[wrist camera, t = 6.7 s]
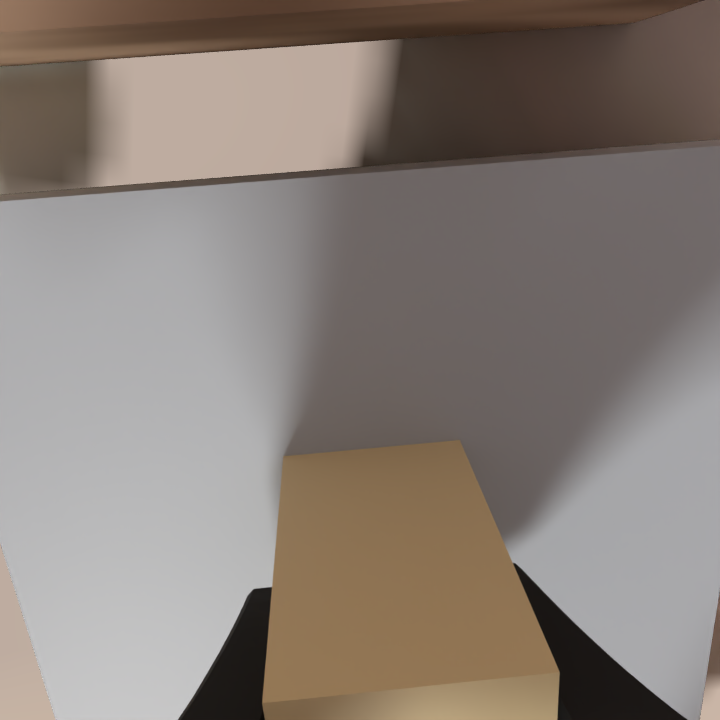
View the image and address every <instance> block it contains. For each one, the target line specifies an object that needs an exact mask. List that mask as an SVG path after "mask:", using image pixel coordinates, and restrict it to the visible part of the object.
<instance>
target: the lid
mask: <svg viewBox="0 0 720 720" xmlns="http://www.w3.org/2000/svg"><path fill="white" fill-rule="evenodd" d="M0 544H1V547H2V550H3V554H4V557H5V560H6V563H7V566H8V570H9V573H10V576H11V579H12V582H13V585H14V589H15V592H16V595H17V598H18V601H19V605H20V608H21V611H22V614H23V618H24V621H25V624H26V627H27V630H28V633H29V637H30V640H31V643H32V646H33V649H34V653H35V656H36V659H37V662H38V665H39V668H40V671H41V675H42V678H43V681H44V684H45V687H46V691H47V694H48V697H49V700H50V703H51V707H52V710H53V713H54V716H55V719H56V720H178V719H179V717H180V716H181V714H182V713H183V711H184V710H185V708H186V707H187V705H188V704H189V702H190V701H191V699H192V697H193V696H194V694H195V693H196V691H197V689H198V688H199V686H200V684H201V683H202V681H203V679H204V678H205V676H206V674H207V672H208V671H209V669H210V667H211V666H212V664H213V662H214V660H215V659H216V657H217V655H218V654H219V652H220V650H221V648H222V646H223V644H224V643H225V641H226V639H227V637H228V635H229V633H230V631H231V629H232V627H233V625H234V623H235V621H236V619H237V617H238V615H239V613H240V611H241V609H242V607H243V605H244V602H245V600H246V598H247V596H248V594H249V593H250V592H251V591H252V590H253V589H257V588H267V587H272V594H271V606H270V618H269V629H268V641H267V653H266V665H265V676H264V688H263V700H262V705H263V711H264V717H265V720H557V715H558V695H559V676H560V672H559V669H558V667H557V665H556V662H555V660H554V658H553V655H552V653H551V651H550V648H549V646H548V644H547V642H546V639H545V637H544V635H543V632H542V630H541V628H540V625H539V623H538V621H537V618H536V616H535V614H534V611H533V609H532V607H531V604H530V602H529V600H528V597H527V595H526V593H525V590H524V588H523V586H522V583H521V581H520V579H519V576H518V574H517V572H516V569H515V567H514V565H513V563H516V564H517V565H518V566H519V567H520V568H521V569H522V570H523V571H524V572H525V573H526V574H527V575H528V576H529V577H530V578H531V579H532V580H533V581H534V582H535V583H536V584H537V585H538V586H539V587H540V588H541V589H542V591H543V592H544V593H545V594H546V595H547V596H548V597H549V598H550V599H551V600H552V601H553V602H554V603H555V604H556V605H557V606H558V607H559V608H560V609H561V610H562V611H563V612H564V613H565V614H566V615H567V616H568V617H569V618H570V619H571V620H572V621H573V622H574V623H575V624H576V625H577V626H578V627H579V628H581V629H582V630H583V631H584V632H585V633H586V634H587V635H588V636H589V637H590V638H591V639H592V640H593V641H595V642H596V643H597V644H598V645H599V646H600V647H601V648H602V649H603V650H604V651H605V652H606V653H607V654H609V655H610V656H611V657H612V658H613V659H614V660H615V661H616V662H618V663H619V664H620V665H621V666H622V667H623V668H624V669H625V670H627V671H628V672H629V673H630V674H631V675H632V676H634V677H635V678H636V679H637V680H638V681H640V682H641V683H642V684H643V685H644V686H646V687H647V688H648V689H649V690H650V691H652V692H653V693H654V694H655V695H656V696H658V697H659V698H660V699H661V700H663V701H664V702H665V703H666V704H668V705H669V706H670V707H671V708H673V709H674V710H675V711H677V712H678V713H679V714H681V715H682V716H683V717H685V718H686V719H688V720H700V715H701V708H702V702H703V695H704V689H705V682H706V676H707V669H708V663H709V656H710V650H711V643H712V637H713V630H714V624H715V617H716V611H717V605H718V598H719V592H720V139H715V140H702V141H689V142H676V143H664V144H651V145H638V146H625V147H612V148H599V149H586V150H573V151H560V152H547V153H534V154H521V155H508V156H495V157H482V158H469V159H456V160H443V161H430V162H417V163H404V164H391V165H378V166H365V167H352V168H339V169H326V170H314V171H300V172H287V173H275V174H261V175H248V176H235V177H222V178H209V179H197V180H183V181H171V182H157V183H146V184H132V185H119V186H106V187H93V188H80V189H67V190H54V191H41V192H28V193H15V194H2V195H0Z"/></svg>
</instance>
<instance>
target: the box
mask: <svg viewBox="0 0 720 720" xmlns="http://www.w3.org/2000/svg"><path fill="white" fill-rule="evenodd" d="M700 1H703V0H0V67H2V66H16V65H30V64H45V63H59V62H74V61H88V60H103V59H117V58H132V57H146V56H161V55H175V54H188V53H189V54H190V53H202V52H203V53H204V52H218V51H233V50H247V49H261V48H276V47H291V46H305V45H320V44H334V43H349V42H363V41H378V40H392V39H406V38H421V37H435V36H450V35H464V34H479V33H493V32H508V31H522V30H537V29H551V28H566V27H580V26H594V25H609V24H623V23H635V22H638V21H641V20H644V19H647V18H650V17H653V16H656V15H660V14H663V13H666V12H669V11H672V10H675V9H678V8H681V7H685V6H688V5H691V4H694V3H697V2H700Z"/></svg>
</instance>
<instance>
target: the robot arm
mask: <svg viewBox="0 0 720 720" xmlns="http://www.w3.org/2000/svg"><path fill="white" fill-rule="evenodd" d="M513 565H514V567H515V569H516V572H517V574H518V576H519V579H520V581H521V583H522V586H523V588H524V590H525V593H526V595H527V597H528V600H529V602H530V604H531V607H532V609H533V611H534V614H535V616H536V618H537V621H538V623H539V625H540V628H541V630H542V632H543V635H544V637H545V639H546V642H547V644H548V646H549V648H550V651H551V653H552V655H553V658H554V660H555V662H556V665H557V667H558V669H559V672H560V676H559V695H558V715H557V720H688V719H686V718H685V717H683V716H682V715H681V714H679V713H678V712H677V711H675V710H674V709H673V708H671V707H670V706H669V705H668V704H666V703H665V702H664V701H663V700H661V699H660V698H659V697H658V696H656V695H655V694H654V693H653V692H652V691H650V690H649V689H648V688H647V687H646V686H644V685H643V684H642V683H641V682H640V681H638V680H637V679H636V678H635V677H634V676H632V675H631V674H630V673H629V672H628V671H627V670H625V669H624V668H623V667H622V666H621V665H620V664H619V663H618V662H616V661H615V660H614V659H613V658H612V657H611V656H610V655H609V654H607V653H606V652H605V651H604V650H603V649H602V648H601V647H600V646H599V645H598V644H597V643H596V642H595V641H593V640H592V639H591V638H590V637H589V636H588V635H587V634H586V633H585V632H584V631H583V630H582V629H581V628H579V627H578V626H577V625H576V624H575V623H574V622H573V621H572V620H571V619H570V618H569V617H568V616H567V615H566V614H565V613H564V612H563V611H562V610H561V609H560V608H559V607H558V606H557V605H556V604H555V603H554V602H553V601H552V600H551V599H550V598H549V597H548V596H547V595H546V594H545V593H544V592H543V591H542V589H541V588H540V587H539V586H538V585H537V584H536V583H535V582H534V581H533V580H532V579H531V578H530V577H529V576H528V575H527V574H526V573H525V572H524V571H523V570H522V569H521V568H520V567H519V566H518V565H517V564H516V563H513ZM271 594H272V587H267V588H257V589H253V590H252V591H251V592H250V593H249V594H248V596H247V598H246V600H245V602H244V605H243V607H242V609H241V611H240V613H239V615H238V617H237V619H236V621H235V623H234V625H233V627H232V629H231V631H230V633H229V635H228V637H227V639H226V641H225V643H224V644H223V646H222V648H221V650H220V652H219V654H218V655H217V657H216V659H215V660H214V662H213V664H212V666H211V667H210V669H209V671H208V672H207V674H206V676H205V678H204V679H203V681H202V683H201V684H200V686H199V688H198V689H197V691H196V693H195V694H194V696H193V697H192V699H191V701H190V702H189V704H188V705H187V707H186V708H185V710H184V711H183V713H182V714H181V716H180V717H179V719H178V720H265V717H264V711H263V705H262V700H263V688H264V676H265V665H266V653H267V641H268V629H269V618H270V606H271Z"/></svg>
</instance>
